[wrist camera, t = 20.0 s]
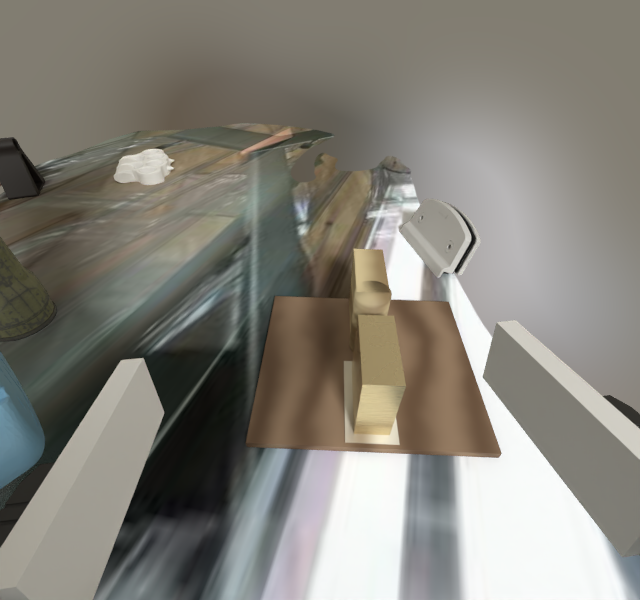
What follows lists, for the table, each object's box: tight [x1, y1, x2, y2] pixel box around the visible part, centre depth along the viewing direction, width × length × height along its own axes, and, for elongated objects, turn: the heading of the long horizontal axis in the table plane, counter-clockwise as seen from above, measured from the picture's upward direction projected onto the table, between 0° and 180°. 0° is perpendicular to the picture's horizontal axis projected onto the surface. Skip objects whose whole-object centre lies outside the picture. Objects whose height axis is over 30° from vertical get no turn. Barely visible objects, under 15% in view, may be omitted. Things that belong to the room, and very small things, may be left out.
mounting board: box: [246, 249, 501, 458], centre depth 42 cm, size 28×24×11 cm
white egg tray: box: [114, 149, 175, 185], centre depth 92 cm, size 3×18×15 cm
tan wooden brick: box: [352, 315, 406, 435], centre depth 38 cm, size 4×9×10 cm, turn 178°
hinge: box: [400, 199, 481, 278], centre depth 64 cm, size 17×5×10 cm, turn 15°
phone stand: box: [0, 137, 45, 199], centre depth 80 cm, size 9×6×12 cm, turn 21°
